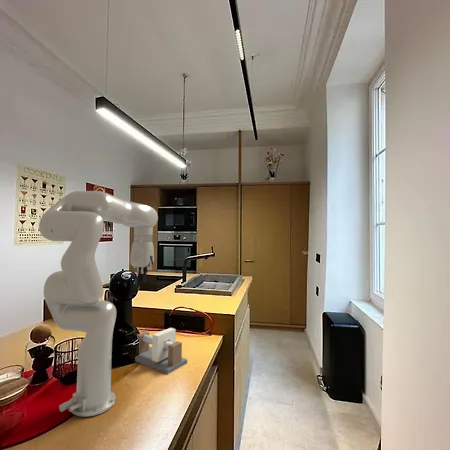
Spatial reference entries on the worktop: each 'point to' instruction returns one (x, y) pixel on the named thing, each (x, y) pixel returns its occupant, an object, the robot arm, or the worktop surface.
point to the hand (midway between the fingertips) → (142, 282)
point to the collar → (162, 343)
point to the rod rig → (166, 364)
